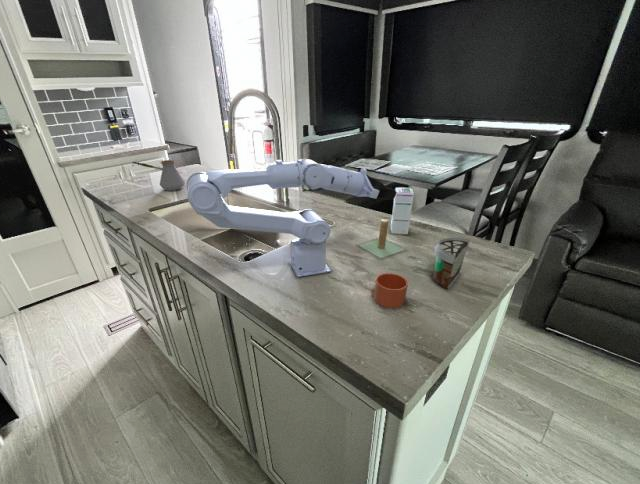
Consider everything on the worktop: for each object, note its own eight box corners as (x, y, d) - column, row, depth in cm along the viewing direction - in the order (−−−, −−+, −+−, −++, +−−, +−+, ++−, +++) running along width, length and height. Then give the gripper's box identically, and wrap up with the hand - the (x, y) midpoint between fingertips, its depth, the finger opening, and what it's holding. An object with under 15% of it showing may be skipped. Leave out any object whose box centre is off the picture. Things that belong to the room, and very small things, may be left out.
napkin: (380, 259, 94) (380, 258, 94) (358, 246, 101) (358, 245, 101) (404, 250, 98) (405, 249, 98) (382, 238, 106) (382, 238, 106)
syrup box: (408, 235, 108) (415, 192, 101) (390, 233, 109) (395, 191, 102) (406, 228, 113) (413, 187, 105) (389, 227, 114) (395, 186, 106)
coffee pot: (180, 184, 163) (174, 153, 156) (190, 188, 156) (183, 156, 148) (136, 192, 151) (127, 159, 144) (144, 198, 144) (135, 164, 136)
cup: (382, 310, 73) (385, 292, 70) (368, 293, 79) (370, 275, 76) (410, 304, 75) (414, 287, 72) (394, 288, 81) (397, 271, 78)
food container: (438, 264, 91) (445, 232, 86) (460, 271, 87) (470, 238, 82) (421, 283, 82) (428, 248, 77) (445, 292, 79) (454, 256, 74)
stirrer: (379, 249, 98) (383, 222, 94) (376, 246, 100) (379, 219, 96) (386, 248, 99) (390, 221, 94) (382, 245, 101) (386, 218, 96)
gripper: (361, 173, 73) (408, 184, 78) (336, 157, 84) (378, 168, 90) (351, 202, 76) (397, 211, 81) (328, 183, 87) (369, 192, 93)
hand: (386, 190), depth 86 cm, fingers open, 7 cm apart
